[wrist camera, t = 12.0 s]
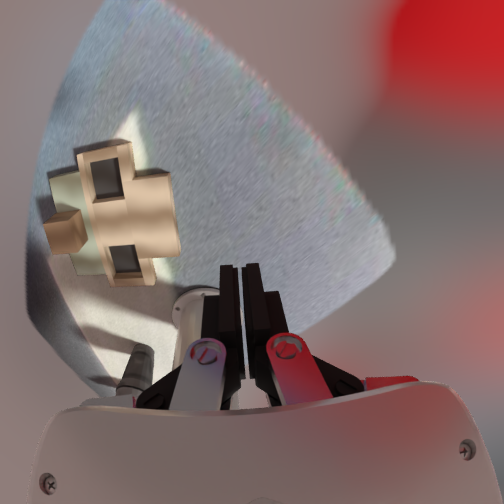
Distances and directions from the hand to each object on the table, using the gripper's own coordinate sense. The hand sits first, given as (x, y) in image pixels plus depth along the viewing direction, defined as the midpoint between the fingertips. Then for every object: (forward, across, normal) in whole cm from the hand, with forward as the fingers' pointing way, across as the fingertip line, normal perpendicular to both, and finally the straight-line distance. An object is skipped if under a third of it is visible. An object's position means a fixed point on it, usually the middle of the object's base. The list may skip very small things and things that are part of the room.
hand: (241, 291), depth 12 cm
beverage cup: (+27, +21, +36) cm, 50 cm away
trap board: (+27, +18, +6) cm, 33 cm away
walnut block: (+25, +25, +6) cm, 36 cm away
